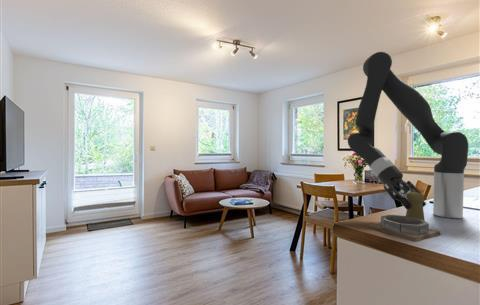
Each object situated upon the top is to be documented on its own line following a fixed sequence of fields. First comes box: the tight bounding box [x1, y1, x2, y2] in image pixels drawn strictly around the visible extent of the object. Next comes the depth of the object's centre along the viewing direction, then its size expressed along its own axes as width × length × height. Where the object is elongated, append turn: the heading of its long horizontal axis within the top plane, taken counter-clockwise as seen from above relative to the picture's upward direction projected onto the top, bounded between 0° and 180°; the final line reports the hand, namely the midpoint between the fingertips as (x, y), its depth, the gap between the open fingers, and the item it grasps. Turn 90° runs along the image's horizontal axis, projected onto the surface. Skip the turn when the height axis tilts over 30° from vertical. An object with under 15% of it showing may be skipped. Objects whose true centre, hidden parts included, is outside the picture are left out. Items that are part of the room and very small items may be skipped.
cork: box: [405, 192, 426, 221], centre depth 90 cm, size 6×6×11 cm
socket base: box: [368, 214, 441, 242], centre depth 82 cm, size 14×14×4 cm
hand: (417, 207), depth 90 cm, fingers open, 8 cm apart
